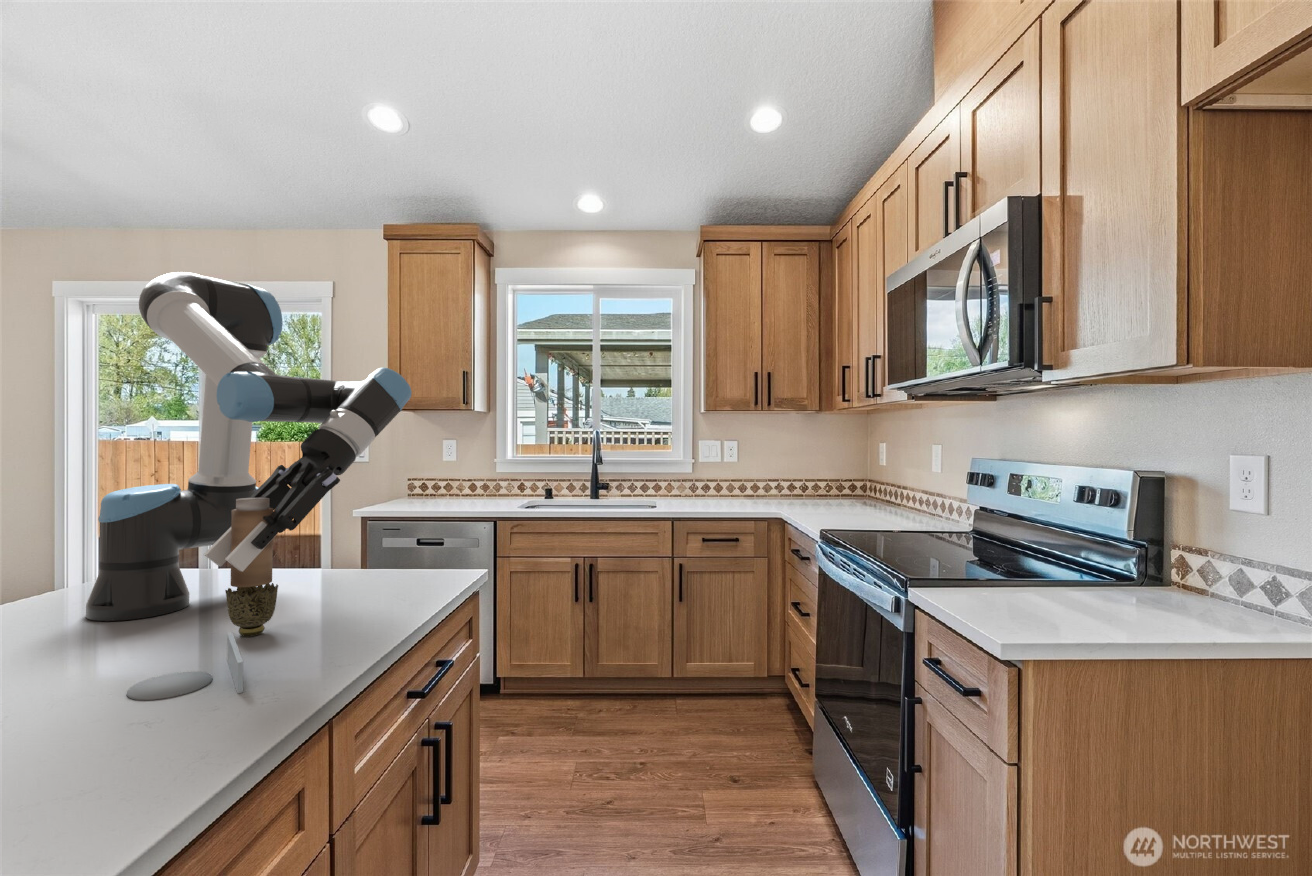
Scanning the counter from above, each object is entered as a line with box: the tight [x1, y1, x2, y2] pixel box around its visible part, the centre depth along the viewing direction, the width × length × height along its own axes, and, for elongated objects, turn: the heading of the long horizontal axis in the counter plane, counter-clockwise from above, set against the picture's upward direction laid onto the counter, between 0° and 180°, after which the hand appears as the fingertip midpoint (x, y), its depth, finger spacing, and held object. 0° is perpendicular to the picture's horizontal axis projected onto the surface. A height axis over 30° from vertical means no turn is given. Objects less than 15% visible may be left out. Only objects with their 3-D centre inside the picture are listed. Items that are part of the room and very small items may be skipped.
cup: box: [224, 582, 279, 638], centre depth 105 cm, size 8×7×8 cm
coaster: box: [126, 670, 213, 701], centre depth 83 cm, size 9×9×1 cm
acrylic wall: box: [226, 632, 244, 694], centre depth 87 cm, size 15×1×4 cm, turn 39°
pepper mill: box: [230, 498, 274, 588], centre depth 89 cm, size 5×5×12 cm
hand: (223, 562), depth 86 cm, fingers closed on pepper mill, 5 cm apart
